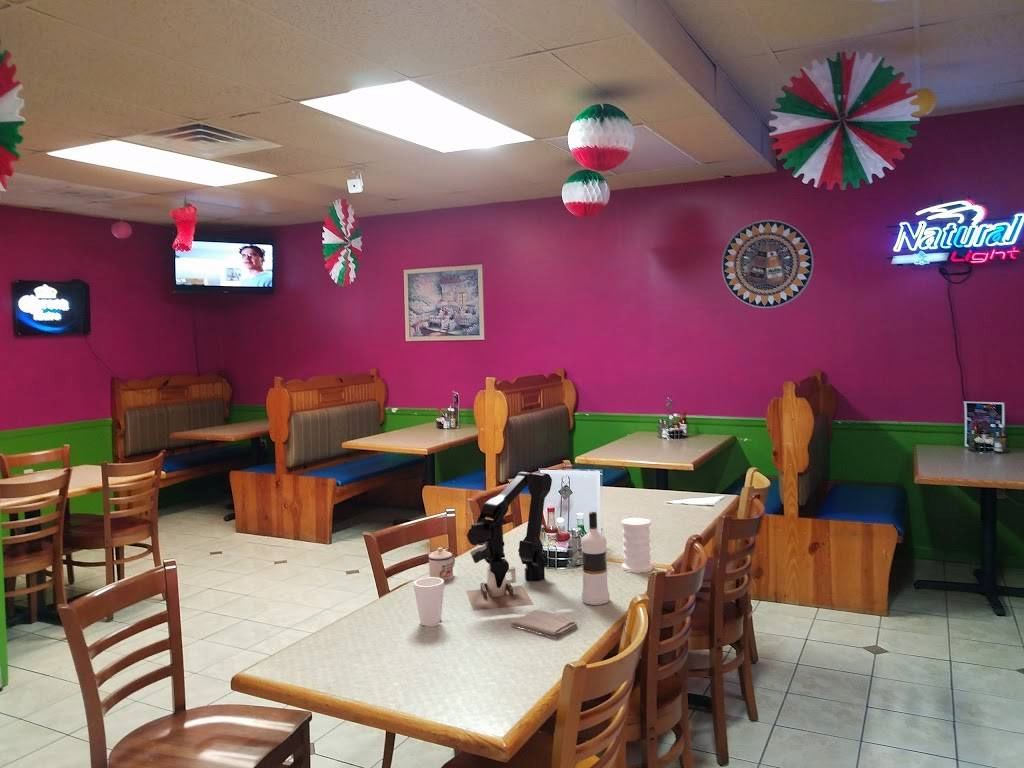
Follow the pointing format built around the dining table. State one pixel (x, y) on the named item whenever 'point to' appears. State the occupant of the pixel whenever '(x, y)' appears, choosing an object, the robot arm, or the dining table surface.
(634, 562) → the decorative container
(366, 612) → the dining table surface
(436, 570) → the teacup with lid
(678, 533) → the dining table surface
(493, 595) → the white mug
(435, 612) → the foam cup
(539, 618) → the washcloth
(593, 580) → the vodka
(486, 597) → the dock
